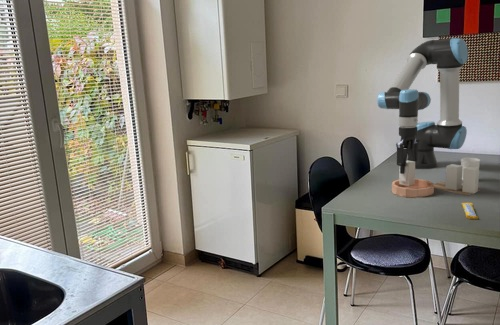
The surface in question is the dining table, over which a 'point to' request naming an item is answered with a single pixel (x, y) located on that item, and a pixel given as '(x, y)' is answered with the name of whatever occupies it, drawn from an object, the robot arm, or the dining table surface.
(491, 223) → the dining table surface
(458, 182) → the off-white rectangular block
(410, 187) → the bowl
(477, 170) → the off-white square pillar
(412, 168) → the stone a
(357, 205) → the dining table surface
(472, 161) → the white cup
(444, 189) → the board
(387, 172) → the dining table surface
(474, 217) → the candy bar
